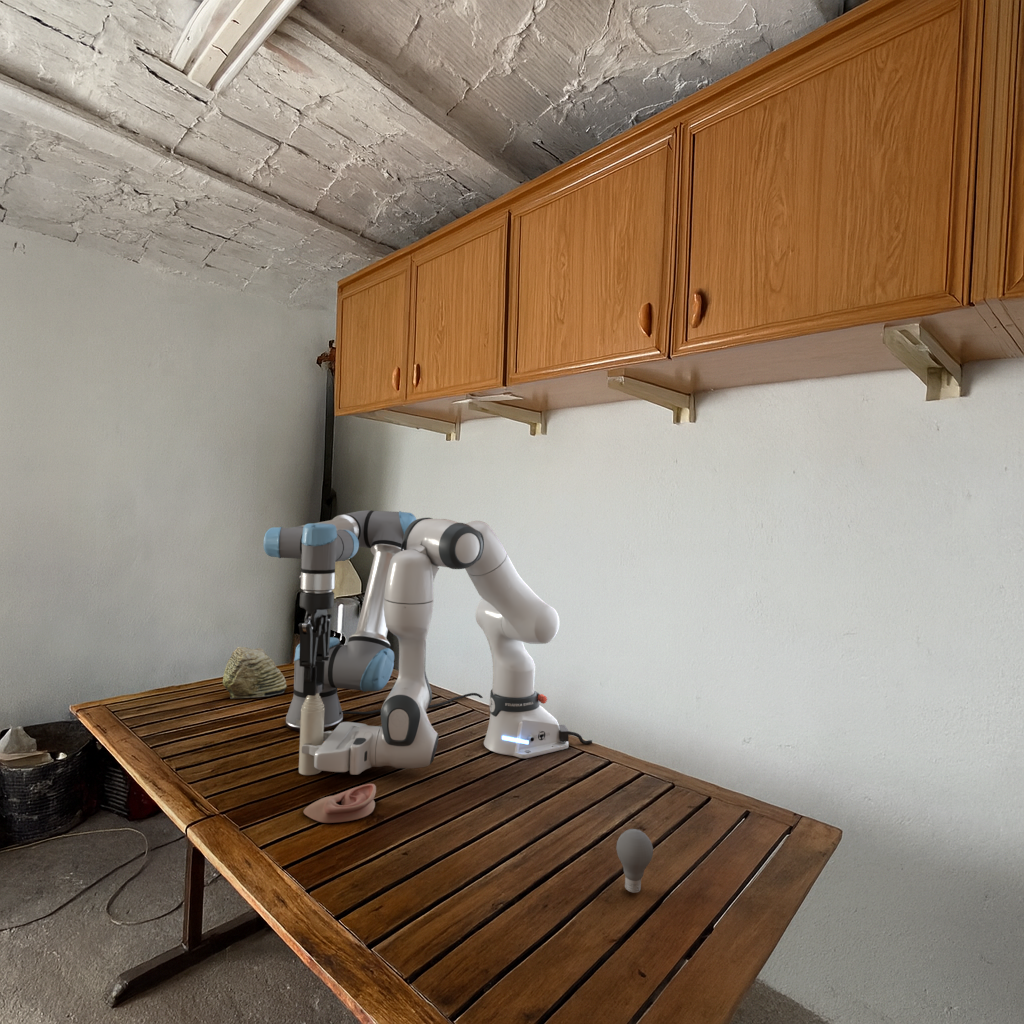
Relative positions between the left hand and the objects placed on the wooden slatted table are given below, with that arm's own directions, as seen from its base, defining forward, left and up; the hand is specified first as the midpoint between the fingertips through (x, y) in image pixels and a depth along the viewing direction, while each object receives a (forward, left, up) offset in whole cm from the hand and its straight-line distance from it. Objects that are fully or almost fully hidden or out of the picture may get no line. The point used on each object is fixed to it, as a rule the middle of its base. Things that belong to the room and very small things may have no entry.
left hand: (313, 691), depth 146 cm
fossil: (-19, -59, -18) cm, 65 cm away
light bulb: (-10, +78, -18) cm, 80 cm away
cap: (0, 0, +1) cm, 1 cm away
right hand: (+1, -1, -12) cm, 12 cm away
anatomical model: (+7, +20, -18) cm, 28 cm away
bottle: (0, 0, -18) cm, 18 cm away
